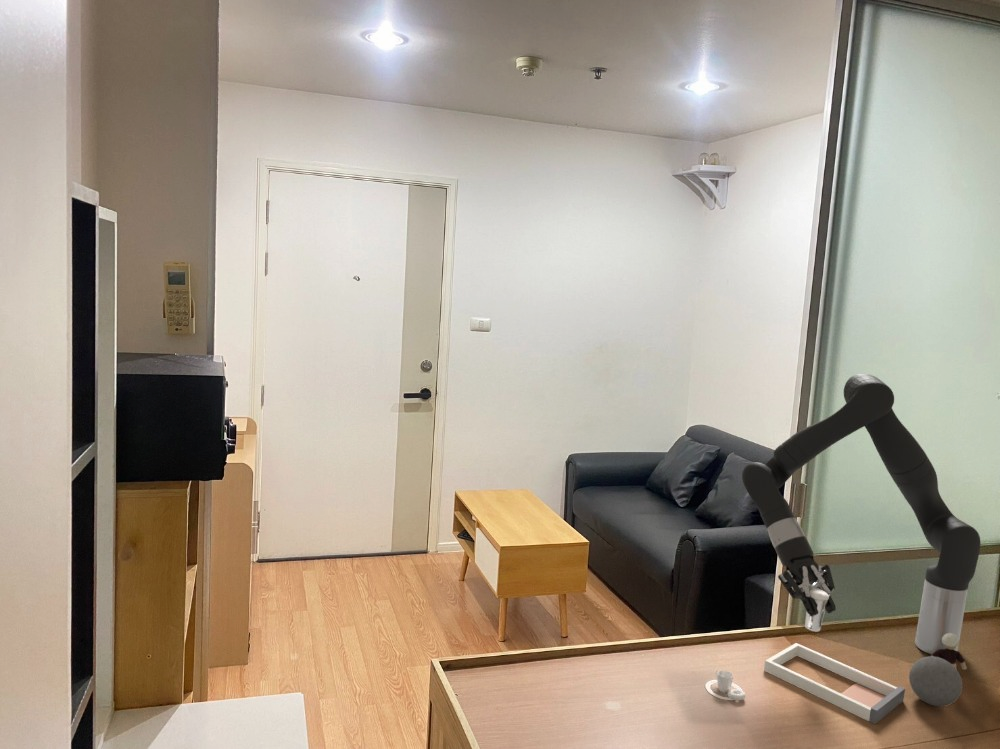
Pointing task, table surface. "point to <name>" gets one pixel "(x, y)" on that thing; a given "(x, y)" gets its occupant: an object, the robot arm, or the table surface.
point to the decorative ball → (935, 681)
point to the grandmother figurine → (950, 651)
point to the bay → (850, 700)
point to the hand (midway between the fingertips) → (823, 613)
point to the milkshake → (821, 603)
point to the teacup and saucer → (726, 686)
